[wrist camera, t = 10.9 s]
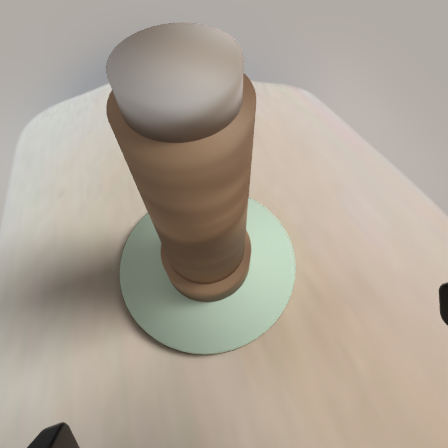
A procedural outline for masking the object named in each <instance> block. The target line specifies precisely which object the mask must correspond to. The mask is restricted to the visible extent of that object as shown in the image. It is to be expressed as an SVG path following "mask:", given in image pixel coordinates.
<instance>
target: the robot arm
mask: <svg viewBox="0 0 448 448" xmlns="http://www.w3.org/2000/svg"><path fill="white" fill-rule="evenodd" d="M439 303H440V315H441V317H442V319H443V321H444V322H445V323H446V324H447V325H448V282H447V283H444V284H442V285H441V286H440V288H439ZM27 448H79V446H78V444H77V442H76V440H75V438H74V436H73V434H72V431H71V429H70V427H69V426H68V425H67V424H66V423H63V422H62V423H59V424H56V425H53V426H51V427H48V428H46V429H44V430H42V431H41V432H40V434H39V435H38V436H37V437H36V438H35V439H34V440H33V442H32V443H31V444H30V445H29V446H28V447H27Z"/></svg>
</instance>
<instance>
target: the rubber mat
mask: <svg viewBox="0 0 448 448" xmlns="http://www.w3.org/2000/svg"><path fill="white" fill-rule="evenodd" d="M246 230H247V232H248V235H249V237H250V241H251V258H250V266H249V271H248V275H247V277H246V279H245V281H244V283H243V284H242V286H241V287H240V288H239V289H238V290H237V291H236V292H235V293H233V294H232V295H231V296H229V297H227V298H225V299H222V300H219V301H215V302H199V301H195V300H191V299H189V298H187V297H185V296H184V295H182V294H181V293H180V292H178V291H177V290H176V288H175V287H174V286H173V284H172V283H171V281H170V279H169V277H168V275H167V273H166V271H165V269H164V266H163V264H162V260H161V241H160V239H159V236H158V234H157V232H156V229H155V227H154V225H153V223H152V220H151V218H150V216H149V213H147V214H146V215H145V216H144V217H143V218H142V219H141V220H140V222H139V223H138V224H137V225H136V227H135V228H134V230H133V231H132V232H131V234H130V236H129V238H128V240H127V242H126V245H125V247H124V250H123V253H122V257H121V262H120V286H121V291H122V295H123V298H124V301H125V304H126V306H127V308H128V310H129V311H130V313H131V315H132V316H133V318H134V319H135V320H136V322H137V323H138V324H139V325H140V326H141V327H142V328H143V329H144V330H145V331H146V332H147V333H148V334H149V335H150V336H152V337H153V338H154V339H156V340H157V341H159V342H160V343H162V344H164V345H166V346H168V347H170V348H173V349H176V350H179V351H182V352H187V353H192V354H205V355H208V354H219V353H224V352H228V351H232V350H235V349H238V348H240V347H243V346H245V345H247V344H249V343H250V342H252V341H254V340H256V339H257V338H258V337H260V336H261V335H262V334H264V333H265V332H266V331H267V330H268V329H269V328H270V327H271V326H272V325H273V324H274V323H275V322H276V320H277V319H278V318H279V316H280V315H281V314H282V312H283V310H284V308H285V306H286V305H287V303H288V301H289V298H290V295H291V293H292V290H293V285H294V281H295V270H296V267H295V256H294V251H293V247H292V244H291V241H290V239H289V237H288V235H287V233H286V231H285V229H284V227H283V226H282V225H281V223H280V222H279V220H278V219H277V218H276V217H275V216H274V215H273V214H272V213H271V212H270V211H269V210H268V209H266V208H265V207H264V206H263V205H261V204H260V203H258V202H256V201H255V200H253V199H251V198H248V210H247V223H246Z"/></svg>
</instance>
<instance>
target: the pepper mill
mask: <svg viewBox="0 0 448 448" xmlns="http://www.w3.org/2000/svg"><path fill="white" fill-rule="evenodd" d="M243 70H244V55H243V51H242V49H241V47H240V45H239V44H238V42H237V41H236V40H234V38H232V37H231V36H230V35H229V34H227V33H225V32H223V31H221V30H219V29H216V28H214V27H211V26H206V25H203V24H195V23H169V24H162V25H158V26H153V27H150V28H147V29H144V30H141V31H139V32H137V33H135V34H133V35H131V36H129V37H128V38H126V39H125V40H124V41H122V42H121V43H120V44H118V45H117V46H116V47H115V49H114V50H113V51H112V53H111V54H110V56H109V58H108V60H107V65H106V73H107V77H108V79H109V82H110V85H111V88H112V91H111V93H110V95H109V98H108V101H107V117H108V121H109V123H110V125H111V128H112V130H113V132H114V134H115V137H116V139H117V141H118V144H119V146H120V148H121V151H122V153H123V155H124V158H125V160H126V162H127V165H128V167H129V169H130V172H131V174H132V176H133V178H134V181H135V183H136V185H137V188H138V190H139V192H140V195H141V197H142V199H143V202H144V204H145V206H146V209H147V211H148V213H149V216H150V218H151V220H152V223H153V225H154V227H155V229H156V232H157V234H158V236H159V239H160V241H161V260H162V264H163V266H164V269H165V271H166V273H167V275H168V277H169V279H170V281H171V283H172V284H173V286H174V287H175V288H176V290H177V291H178V292H180V293H181V294H182V295H184V296H185V297H187V298H189V299H191V300H195V301H199V302H215V301H219V300H222V299H225V298H227V297H229V296H231V295H232V294H233V293H235V292H236V291H237V290H238V289H239V288H240V287H241V286H242V284H243V283H244V281H245V279H246V277H247V275H248V271H249V266H250V258H251V241H250V237H249V235H248V232H247V230H246V223H247V210H248V198H249V185H250V173H251V160H252V148H253V135H254V123H255V110H256V93H255V89H254V87H253V85H252V83H251V81H250V80H249V78H248V77H247V76H246V75H245V74H244V73H243Z"/></svg>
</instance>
